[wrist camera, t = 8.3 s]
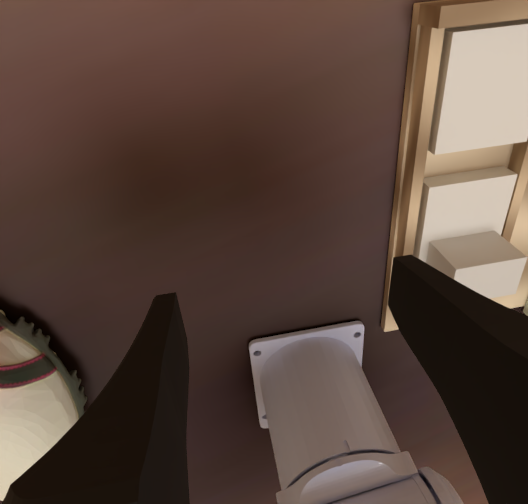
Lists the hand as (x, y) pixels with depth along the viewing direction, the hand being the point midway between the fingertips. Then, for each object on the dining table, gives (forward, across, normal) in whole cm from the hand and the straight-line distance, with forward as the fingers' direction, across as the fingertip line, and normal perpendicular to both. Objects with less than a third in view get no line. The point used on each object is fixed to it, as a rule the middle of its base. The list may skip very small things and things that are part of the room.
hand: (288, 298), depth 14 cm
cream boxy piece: (+9, -12, 0) cm, 15 cm away
